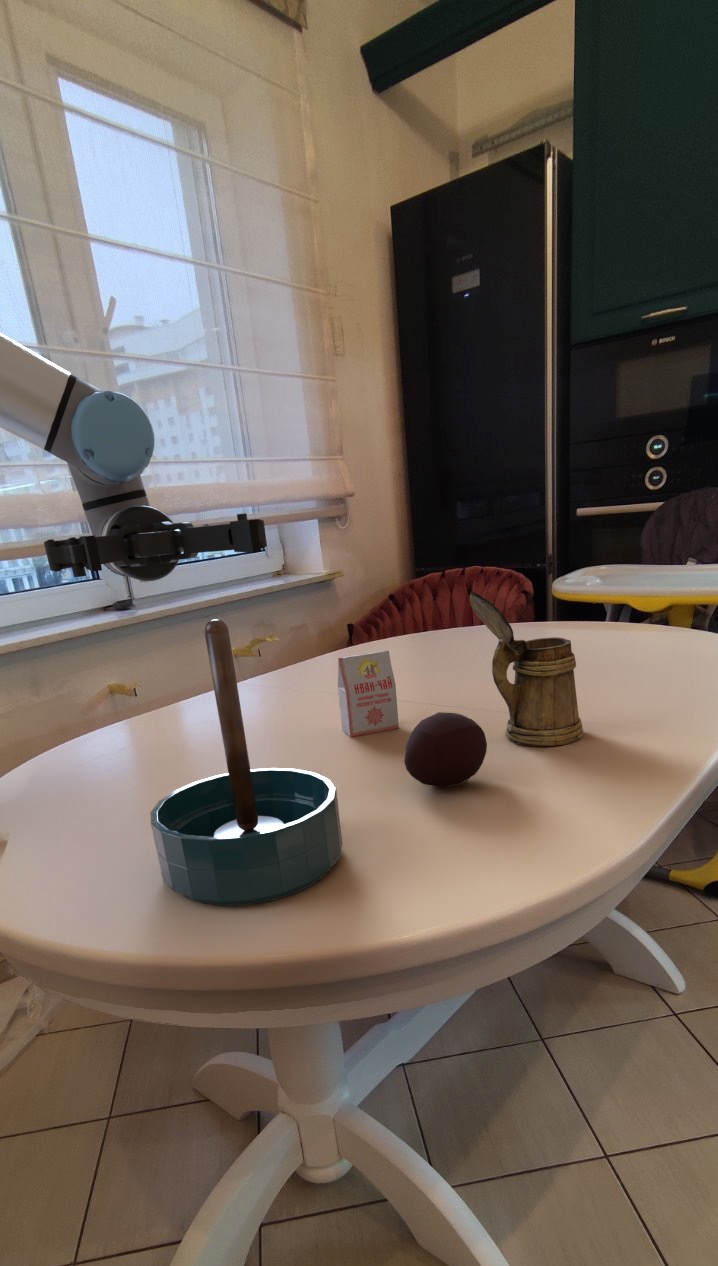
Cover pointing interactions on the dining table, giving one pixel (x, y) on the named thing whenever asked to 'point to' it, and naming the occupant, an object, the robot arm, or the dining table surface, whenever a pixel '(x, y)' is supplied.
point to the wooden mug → (533, 682)
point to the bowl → (248, 838)
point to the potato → (445, 750)
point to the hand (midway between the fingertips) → (177, 544)
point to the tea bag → (367, 693)
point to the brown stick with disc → (233, 735)
